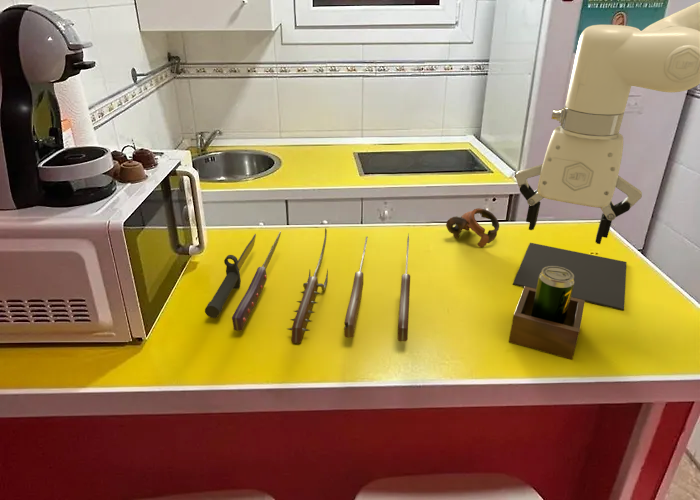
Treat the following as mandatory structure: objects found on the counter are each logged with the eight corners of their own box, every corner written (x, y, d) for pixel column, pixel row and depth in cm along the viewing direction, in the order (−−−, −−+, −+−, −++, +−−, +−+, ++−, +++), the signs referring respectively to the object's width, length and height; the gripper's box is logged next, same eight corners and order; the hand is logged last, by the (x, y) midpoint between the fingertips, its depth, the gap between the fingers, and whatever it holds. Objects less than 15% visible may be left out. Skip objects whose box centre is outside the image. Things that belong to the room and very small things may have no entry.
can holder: (578, 326, 91) (585, 300, 88) (572, 359, 83) (579, 331, 80) (519, 311, 94) (524, 286, 92) (508, 342, 87) (513, 314, 84)
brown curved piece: (476, 228, 127) (495, 206, 121) (488, 259, 122) (508, 238, 116) (434, 222, 122) (451, 199, 116) (444, 254, 117) (463, 232, 111)
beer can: (526, 339, 87) (539, 278, 82) (528, 322, 92) (541, 262, 86) (560, 347, 85) (575, 285, 80) (561, 328, 90) (575, 268, 84)
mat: (626, 263, 111) (626, 261, 111) (623, 310, 95) (624, 309, 95) (529, 243, 119) (530, 242, 118) (512, 284, 103) (512, 283, 103)
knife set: (411, 252, 112) (412, 220, 108) (406, 355, 84) (408, 317, 80) (254, 245, 116) (250, 214, 112) (199, 341, 88) (191, 304, 84)
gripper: (522, 120, 72) (502, 231, 80) (662, 137, 65) (625, 256, 73) (531, 109, 78) (512, 213, 86) (660, 124, 71) (626, 236, 79)
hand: (564, 233), depth 80 cm, fingers open, 9 cm apart
